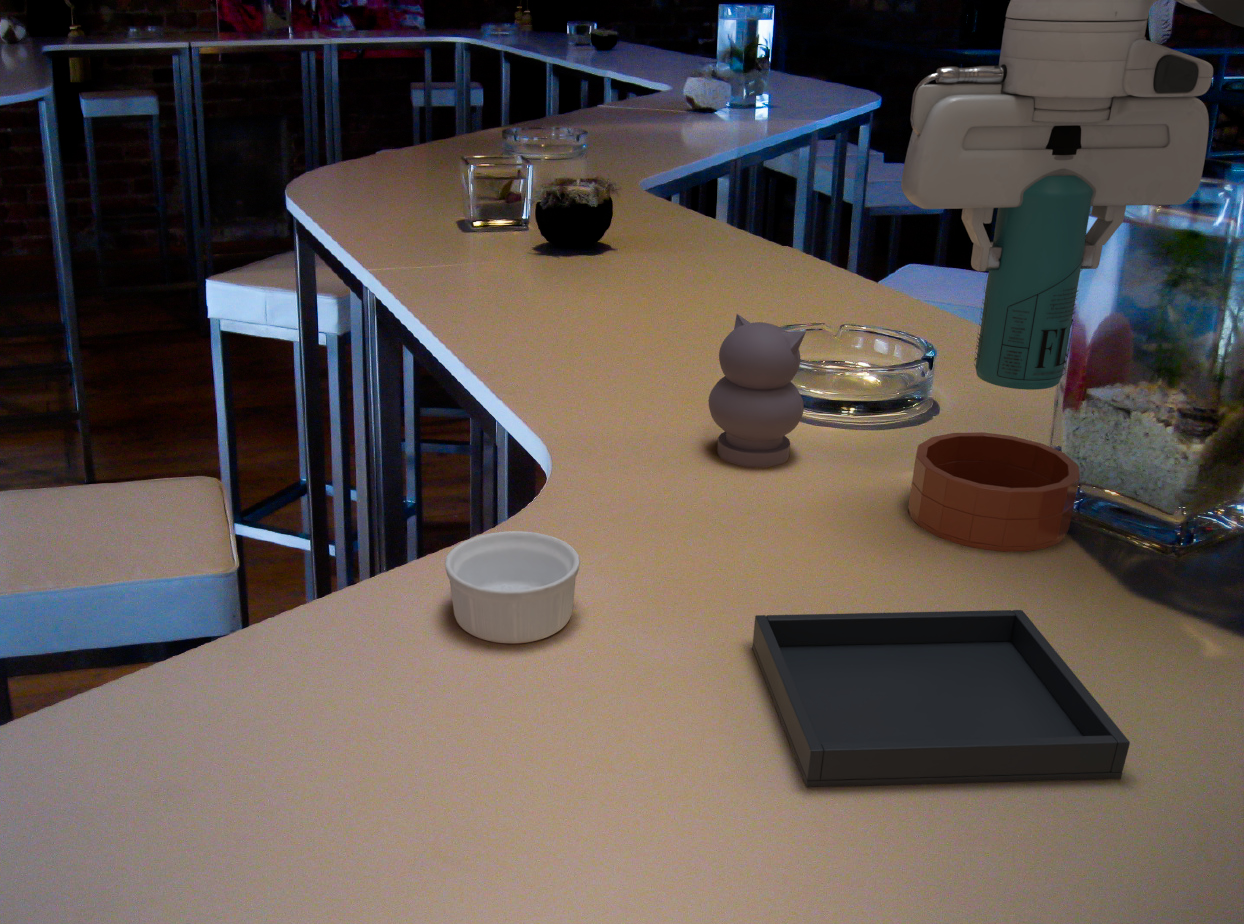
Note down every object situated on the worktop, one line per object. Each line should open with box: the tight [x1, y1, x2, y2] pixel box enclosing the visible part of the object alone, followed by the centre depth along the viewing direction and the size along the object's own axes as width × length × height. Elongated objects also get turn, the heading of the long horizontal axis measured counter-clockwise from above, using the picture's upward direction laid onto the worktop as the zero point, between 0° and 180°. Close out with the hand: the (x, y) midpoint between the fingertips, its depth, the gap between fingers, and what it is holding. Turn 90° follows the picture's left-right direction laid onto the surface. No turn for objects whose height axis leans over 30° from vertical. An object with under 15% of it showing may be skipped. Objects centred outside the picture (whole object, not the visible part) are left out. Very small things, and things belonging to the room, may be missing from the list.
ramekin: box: [444, 530, 581, 644], centre depth 81 cm, size 9×9×4 cm
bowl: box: [907, 431, 1081, 553], centre depth 95 cm, size 12×12×5 cm
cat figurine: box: [708, 313, 807, 468], centre depth 106 cm, size 8×8×12 cm
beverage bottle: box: [973, 125, 1093, 391], centre depth 88 cm, size 6×7×20 cm
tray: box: [751, 609, 1131, 789], centre depth 72 cm, size 17×14×2 cm
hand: (1034, 268), depth 88 cm, fingers closed on beverage bottle, 6 cm apart
